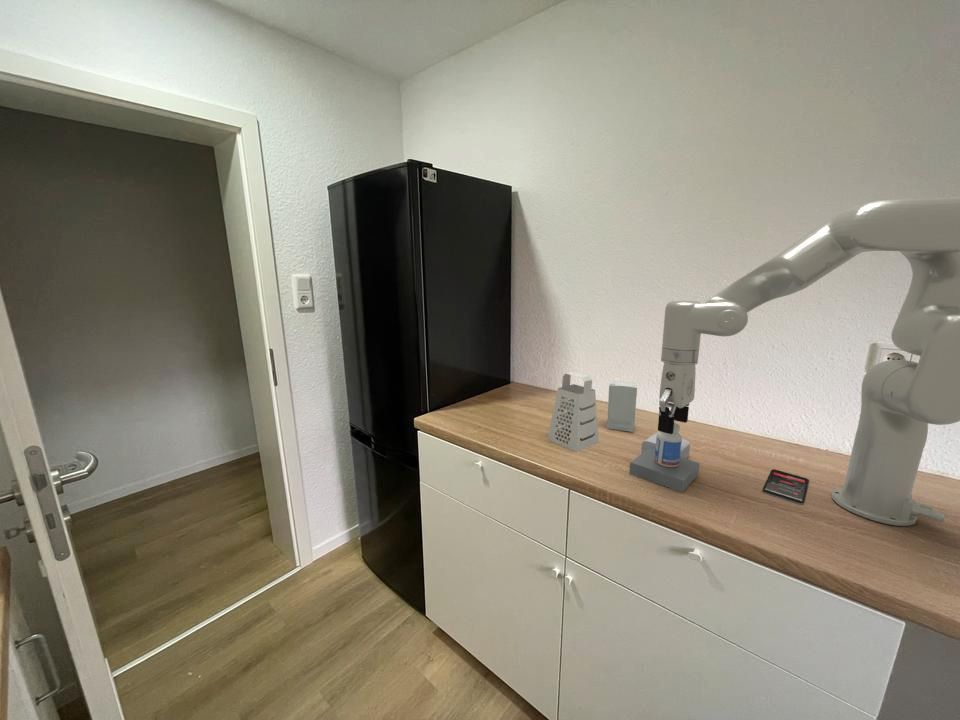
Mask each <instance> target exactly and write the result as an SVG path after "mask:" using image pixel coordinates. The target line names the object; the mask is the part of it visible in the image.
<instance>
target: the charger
mask: <svg viewBox="0 0 960 720" xmlns="http://www.w3.org/2000/svg"><path fill="white" fill-rule="evenodd" d="M657 433H658V432H656V433H653V434H652V435H651V436H649V437H648V438H647V439H644V440H643V441H642V442H641V450H640V455H641V454H642V453H643V452H645V451H646V450H647V449H649V448H653V449H655V447H656V438H657ZM690 448H691V442H690V441H689V440H686V439H684V437H682V442H681V450H680V457H682V458H685V459H687V457H688V456H689V455H690V451H691V449H690Z"/></svg>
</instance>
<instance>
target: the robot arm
mask: <svg viewBox="0 0 960 720" xmlns="http://www.w3.org/2000/svg"><path fill="white" fill-rule="evenodd" d="M874 251H875V252H876V251H877V252H878V251H879V252H899V253H901V254H902V255H903V256H904V258H906V259H907V262H908V263H909V264H910V267H911V272H912V278H911V282H910V284H909V289H908V292H907V294H906V296H905V299H904V301H903V304H902V306H901V309H900V311H899V313H898V316H897V318H896V321H895V322H894V324H893V328H892V331H891V335H890V336H891V341H892V343H893V344H894V346H895V347H896V348H898V349H900V350H901V351H903V352H906V353H907V354H911V355H914V356H919V360H918V362H916V361H912V360H906V359H890V360H885V361H880V362H878V363H877V364H874V366H872V367H870V368H869V370H867V372H866V373H865V374H864V377H863V379H862V382H861V391H860V393H861V395H860V396H861V398H860V399H861V404H860V405H861V407H860V414H859V419H858V423H857V429H856V433H855V436H854V441H853V444H852V448H851V449H852V450H851V453H850V458H849V462H848V466H847V470H846V475H845V479H844V484H843V486H842V487H841V486H840V487H836V488H833V490H831V491H832V492H831V498H832V499H833V501H834V502H835V503H836V504H837V505H839V506H840V507H841V508H843V509H845V510H847V511H848V512H851V513H853V514H855V515H857V516H859V517H862V518H865V519H868V520H871V521H874V522H878V523H881V524H886V525H891V526H898V527H899V526H900V527H907V526H912V525H915V524H916V522H917V520H918V516H920V517H923V518H927V519H928V520H931V521H934V522H939V523H944V521H945V515H946V513H945V512H942V511H939V510H935V509H934V506H933V505H929V504H925V503H921V502H917V501H916V500H915V499H913V496H912V495H913V494H912V491H913V488H914V484H915V482H916V481H915V480H916V477H917V474H918V470H919V467H920V462H921V459H922V456H923V453H924V448H925V446H926V443H927V439H928V432H929V424H930V425H937V426H945V425H952V424H955V423H958V422H960V196H956V197H954V196H953V197H952V196H951V197H934V198H933V197H931V198H929V197H928V198H927V197H926V198H903V199H902V198H900V199H899V198H898V199H897V198H896V199H882V200H873V201H870V202H869V201H868V202H866V203H863V204H860V205H856V206H853V207H851V208H847V209H845V210H842V211H840V212H838V213H837V214H835V215H833V216H832V217H830V218H829V219H827V220H826V221H824V222H823V223H821V224H820V225H818V226H817V227H815V228H814V229H812V231H810V232H808V233H807V234H805V236H803V237H802V238H800V239H799V240H797V241H796V242H794V243H793V244H791V245H790V246H788V247H787V248H786V249H784V250H783V251H781V252H779V253H778V254H776V255H775V256H773V257H772V258H771V259H769V260H767V261H766V262H764V263H762V264H760V265H759V266H758V267H756V268H754V269H753V270H752V271H749V273H746V274H745V275H743V276H742V277H741V278H739V279H737V280H736V281H733V283H731V284H730V285H728V286H726V287H725V288H723V289H722V290H720V291H719V292H718V293H716V294H715V295H714V296H712V297H710V298H709V299H708V300H707V301H705V302H700V301H697V300H696V301H695V300H674V301H672V300H671V301H670V302H668V303H667V304H666V306H665V310H664V318H663V319H664V321H663V334H662V345H661V353H660V355H661V356H660V361H661V362H662V363H663V367H662V372H661V378H660V388H659V396H658V397H659V401H658V402H659V403H658V404H659V406H658V424H657V432H659V431H660V432H664V433H668V434H672V433H673V430H674V423H675V421H676V422H680V423H684V424H685V423H686V424H687V422H688V421H689V420H688V419H689V411H690V408H689V406H690V403H691V402H693V401H694V399H695V391H696V365H697V364H698V363H699V354H700V347H701V346H700V345H701V335H702V334H703V335H709V336H716V337H732V336H735V335H738V334H739V333H741V332H742V331H743V330H744V329H745V328H746V326H747V324H748V321H749V315H748V313H749V312H751V311H752V310H754V309H756V308H757V307H760V306H761V305H763V304H766V303H768V302H770V301H773V300H775V299H778V298H779V299H780V298H784V297H785V296H790V295H793V294H795V293H797V292H800V291H803V290H804V289H806V288H808V287H810V286H811V285H813V284H815V282H817V281H820V280H821V278H823V277H826V276H827V275H828V274H830V273H831V272H832V271H834V270H836V269H837V268H839V267H840V266H842V265H844V264H845V263H847V262H849V261H850V260H851V259H853V258H855V257H857V255H860V254H862V253H868V252H874Z"/></svg>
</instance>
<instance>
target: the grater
mask: <svg viewBox="0 0 960 720" xmlns="http://www.w3.org/2000/svg"><path fill="white" fill-rule="evenodd" d="M572 376H574V377H579V378H581V379H582V380H583V386H582V385H579V384H575V383H574V384H571V377H572ZM561 382H562V383H561V384H562V385H561V387H558V388H557V391H556V397H555V400H554V405H553V410H552V415H551V419H550V424H549V429H548V434H547V439H548V441H550V442H553V443H555V444H557V445H560V446H562V447H564V448H567V449H569V450H571V451H574V452H576V453H577V452H580V451H582V450H585V449H586V448H589V447H590V446H594V445H596V444H598V443H599V439H600V438H599V430H598V429H599V427H598V426H599V425H598V412H597V398H596V389H593V388H592V387H593V379H592V376H591V375H589V374H584V373H580V372H576V371H571V372H567V373H564V374H563V375H562V380H561ZM562 436H563V437H562ZM565 437H566V438H565ZM557 438H558V439H557ZM585 438H587V439H585ZM547 439H546V440H547ZM560 439H561V441H560ZM581 439H582V441H581ZM584 439H585V440H584ZM567 442H568V443H567Z"/></svg>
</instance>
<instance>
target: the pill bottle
mask: <svg viewBox="0 0 960 720" xmlns="http://www.w3.org/2000/svg"><path fill="white" fill-rule="evenodd" d="M656 433H657V438H656V447H655V457H654V459H655V462H656V463H658V464H659V465H662V466H665V467H676V466H678V465H679V459H680V450H681V442H682V438H683V437H682V435H681V434H680V425H679V424H678V423H676V422H674V430H673V433H672V434H668V433H664V432H660V431H657V432H656Z"/></svg>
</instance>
